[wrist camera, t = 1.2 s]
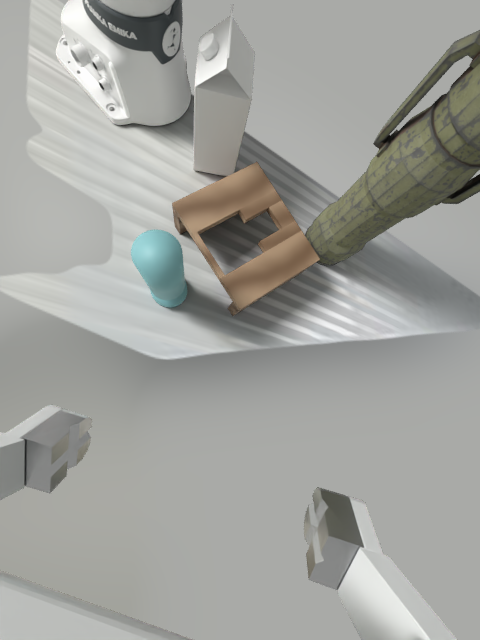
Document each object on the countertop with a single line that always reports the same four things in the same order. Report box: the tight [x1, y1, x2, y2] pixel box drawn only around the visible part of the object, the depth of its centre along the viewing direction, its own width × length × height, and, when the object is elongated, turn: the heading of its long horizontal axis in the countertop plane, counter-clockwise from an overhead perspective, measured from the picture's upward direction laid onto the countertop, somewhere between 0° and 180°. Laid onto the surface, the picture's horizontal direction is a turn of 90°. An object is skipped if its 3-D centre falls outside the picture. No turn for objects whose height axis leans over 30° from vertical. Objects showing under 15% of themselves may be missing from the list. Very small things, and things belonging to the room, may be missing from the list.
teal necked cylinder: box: [131, 230, 187, 308], centre depth 35 cm, size 6×6×16 cm
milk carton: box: [193, 4, 255, 176], centre depth 38 cm, size 7×7×19 cm
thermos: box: [305, 30, 480, 266], centre depth 32 cm, size 9×12×35 cm
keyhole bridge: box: [172, 162, 320, 316], centre depth 43 cm, size 18×15×7 cm
